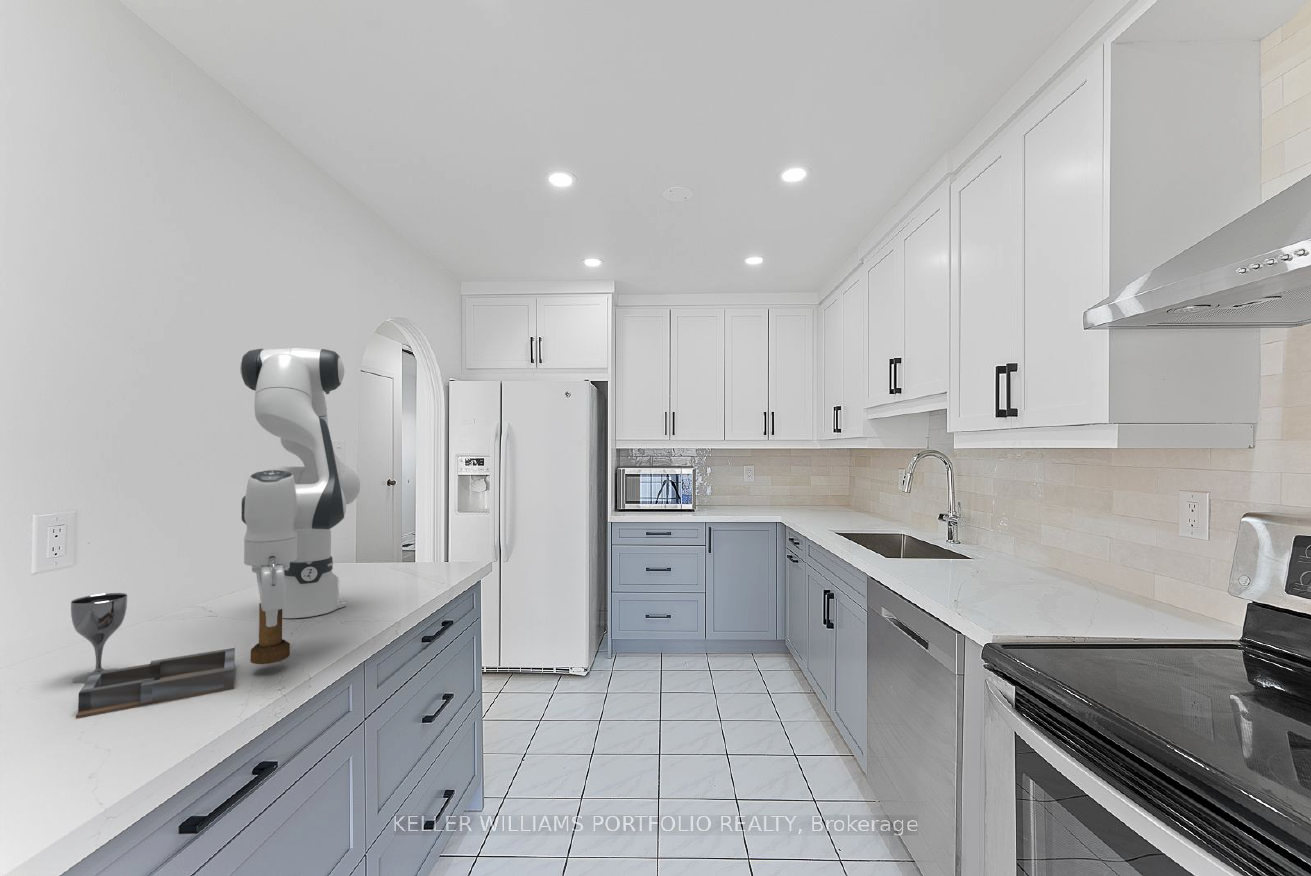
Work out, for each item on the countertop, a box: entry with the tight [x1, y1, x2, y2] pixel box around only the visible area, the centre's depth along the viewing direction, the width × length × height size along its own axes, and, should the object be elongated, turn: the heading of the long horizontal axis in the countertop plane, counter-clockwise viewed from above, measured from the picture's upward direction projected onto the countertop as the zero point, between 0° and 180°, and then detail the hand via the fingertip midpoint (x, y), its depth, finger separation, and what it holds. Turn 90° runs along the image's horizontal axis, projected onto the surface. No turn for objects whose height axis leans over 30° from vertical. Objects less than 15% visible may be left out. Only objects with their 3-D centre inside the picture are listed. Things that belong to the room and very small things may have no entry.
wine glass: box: [70, 592, 128, 684], centre depth 114 cm, size 8×8×15 cm
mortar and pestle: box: [249, 585, 291, 665], centre depth 117 cm, size 7×6×18 cm
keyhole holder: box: [75, 647, 236, 719], centre depth 108 cm, size 14×21×4 cm, turn 125°
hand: (270, 622), depth 117 cm, fingers closed on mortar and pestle, 4 cm apart
